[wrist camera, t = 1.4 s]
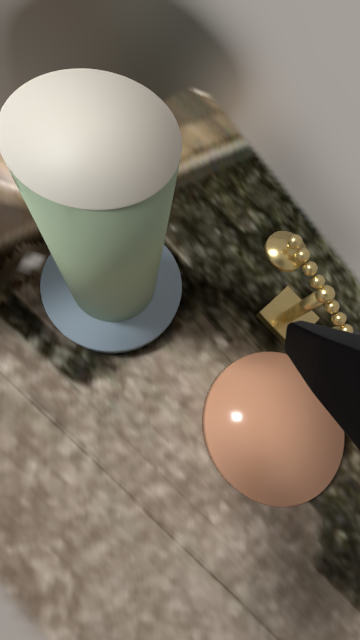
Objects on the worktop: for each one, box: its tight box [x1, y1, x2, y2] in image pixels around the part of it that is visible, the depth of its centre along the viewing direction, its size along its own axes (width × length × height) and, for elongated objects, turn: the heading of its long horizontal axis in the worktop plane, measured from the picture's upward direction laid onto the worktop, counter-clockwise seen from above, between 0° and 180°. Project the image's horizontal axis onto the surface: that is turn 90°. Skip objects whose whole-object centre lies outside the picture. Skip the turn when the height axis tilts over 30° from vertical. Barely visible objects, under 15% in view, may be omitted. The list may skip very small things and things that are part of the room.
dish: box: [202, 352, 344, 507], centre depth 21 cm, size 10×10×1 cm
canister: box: [0, 69, 182, 322], centre depth 16 cm, size 6×6×12 cm
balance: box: [255, 231, 360, 345], centre depth 21 cm, size 4×10×7 cm, turn 43°
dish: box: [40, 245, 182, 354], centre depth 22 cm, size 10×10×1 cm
